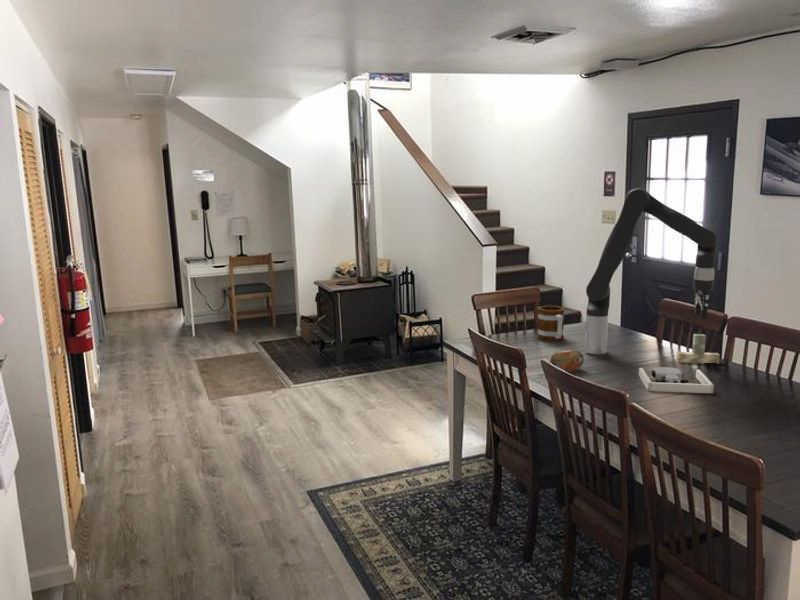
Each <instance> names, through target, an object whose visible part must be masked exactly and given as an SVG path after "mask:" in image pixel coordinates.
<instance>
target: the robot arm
mask: <svg viewBox="0 0 800 600" xmlns="http://www.w3.org/2000/svg"><path fill="white" fill-rule="evenodd" d="M642 213H646V214H648V215H651V216H652V217H654V218H656V219H658V220H659V221H660V222H662V223H664V225H665V226H667V227H669V228H670V229H672V230H674V231H675V232H676V233H679V234H681V235H682V236H685V237H686V238H689V240H691V241H693V242H694V243H695V244H696V245H697V251H696V252H697V253H696V257H695V268H694V272H693V273H694V274H693V283H692V284H693V286H692V289H693V290H694V300H693V303H694V306H695V310H694V311H695V313H694V315H697V316H699V315H700V319H701V320H707V318H708V311H709V310H711V297H712V296H711V294H709V293H708V292H709V291H711V292H712V291H713V289H714V283H715V282H714V281H715V263H716V262H715V261H716V257H715V254H716V246H717V240H718V239H717V238H718V235H717V233H716V231H715V230H713V229H711V228H706V227H704V226H702V225H700V224H698V223H697V222H696V221H695V220H693V219H692V218H690V217H689V216H686V215H684V214H683V213H681V212H679V211H677V210H675V209H673V208H671V207H669V206H668V205H666V204H664V203H663V202H661V201H659V200H658V199H656V198H655V197H654V196H653V195H652V194H650V193H649V192H648V191H647V190H646V189H644V188H641V187H637V188H633V189H630V191H628V193H626V196H625V199H624V201H623V205H622V209H621V211H620V214H619V217H618V219H617V221H616V222H615V225H614V226H613V229H612V231H611V232H610V233H609V236H608V238H607V241H606V242H605V245H604V247H603V250H602V252H601V256H600V259H599V261H598V265H597V267H596V270H595V271H594V274H592V277H591V279H590V281H589V282H588V284H587V286H586V290H585V292H586V296H587V298H588V299H587V300H588V301H587V307H586V318H585V331H584V351H585V353H586V354H590V355H604V354H607V353H608V352H607V350H608V329H609V328H608V327H609V326H608V323H609V309H610V302H611V286H610V284H611V281H612V278H613V276H614V274H615V272H616V270H618V267H619V266H620V265H621V263H622V261H623V259H624V258H625V256H626V254H627V253H628V250H629V248H630V245H631V243H632V239H633V235H634V231H635V229H636V224H637V222H638V221H639V218H640V217H641V215H642Z"/></svg>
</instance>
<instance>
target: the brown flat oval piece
mask: <svg viewBox="0 0 800 600" xmlns="http://www.w3.org/2000/svg"><path fill="white" fill-rule="evenodd" d="M549 359H550V360H549V364H550V363H552V364H553V365H555V366H557V367H559V368H561V369H563V370H565V371H567V372H566V373H569V372H574V371H578V370H580V369H581V367H582V366H583V364H584V355H583V353H582V352H581V351H579V350H577V349H576V350H575V349H568V350H563V351H558V352H555V353H554V354H552V355H551V357H550V358H549Z"/></svg>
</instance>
